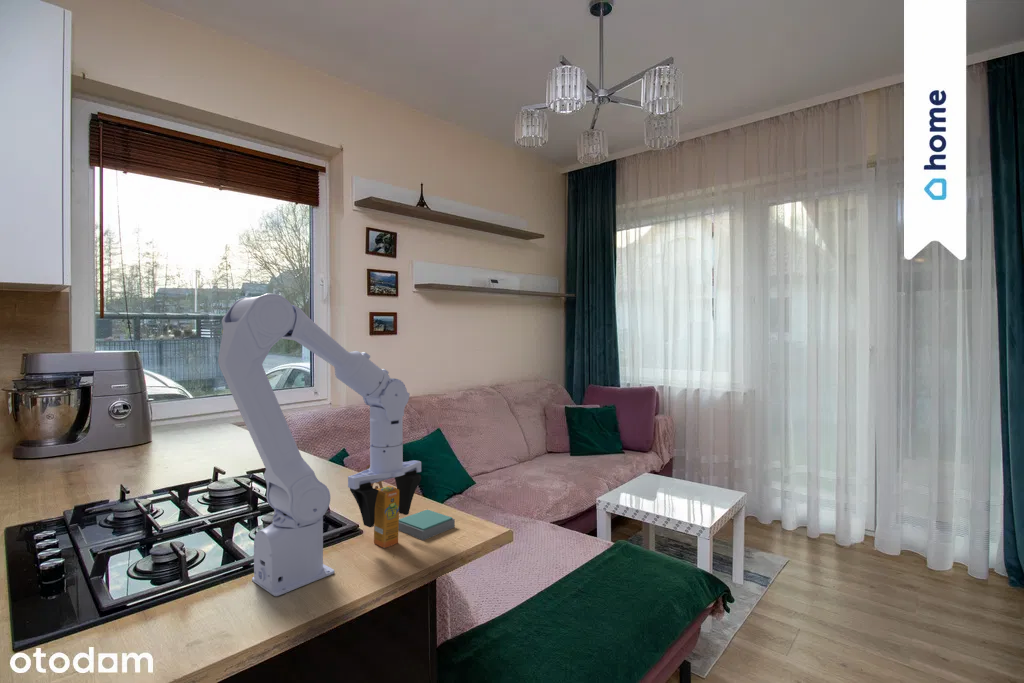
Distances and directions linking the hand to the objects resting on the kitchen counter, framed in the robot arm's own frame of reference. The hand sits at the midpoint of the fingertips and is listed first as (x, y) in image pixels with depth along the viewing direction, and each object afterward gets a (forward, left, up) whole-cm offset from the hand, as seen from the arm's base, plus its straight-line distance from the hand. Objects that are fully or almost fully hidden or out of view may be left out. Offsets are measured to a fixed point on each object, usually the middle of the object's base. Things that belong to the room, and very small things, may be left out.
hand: (386, 519), depth 90 cm
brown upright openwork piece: (+12, +20, -5) cm, 24 cm away
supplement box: (0, 0, -5) cm, 5 cm away
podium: (+9, 0, -4) cm, 10 cm away
